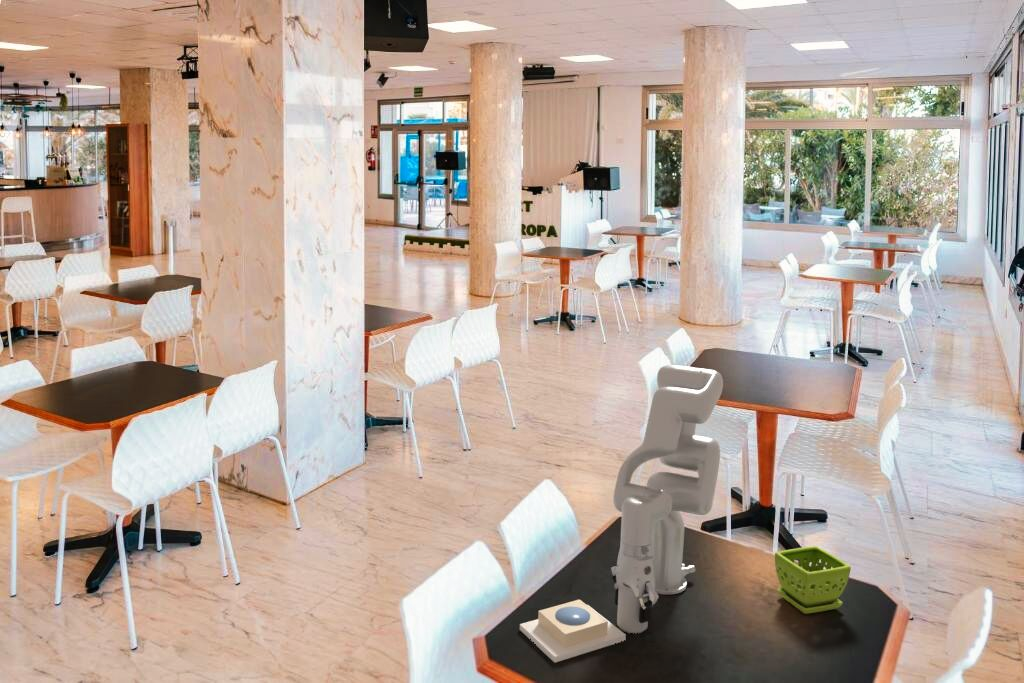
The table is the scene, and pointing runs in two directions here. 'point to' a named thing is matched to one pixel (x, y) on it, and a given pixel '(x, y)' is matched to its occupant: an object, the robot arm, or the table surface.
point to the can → (629, 611)
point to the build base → (572, 650)
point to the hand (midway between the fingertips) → (632, 612)
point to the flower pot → (811, 578)
